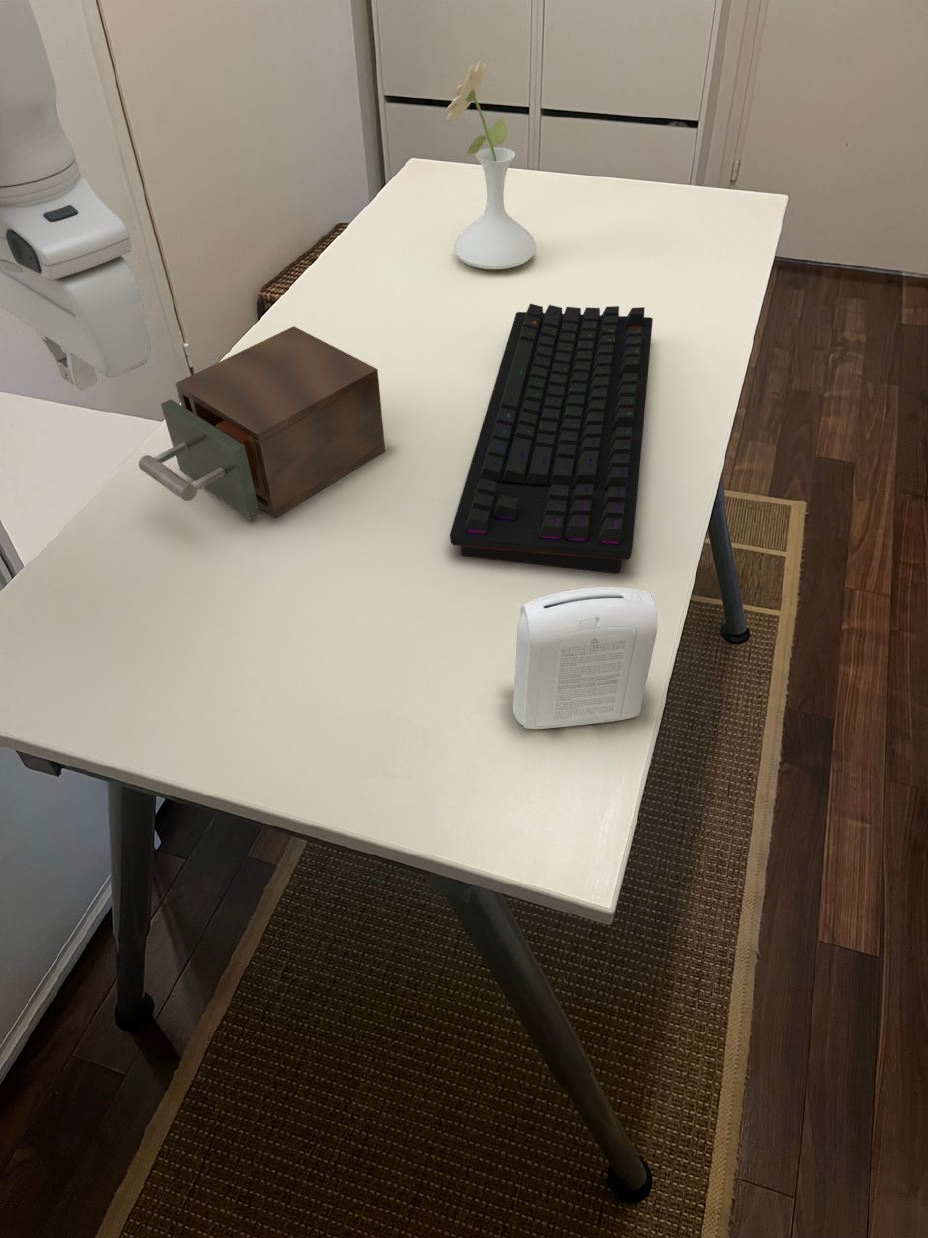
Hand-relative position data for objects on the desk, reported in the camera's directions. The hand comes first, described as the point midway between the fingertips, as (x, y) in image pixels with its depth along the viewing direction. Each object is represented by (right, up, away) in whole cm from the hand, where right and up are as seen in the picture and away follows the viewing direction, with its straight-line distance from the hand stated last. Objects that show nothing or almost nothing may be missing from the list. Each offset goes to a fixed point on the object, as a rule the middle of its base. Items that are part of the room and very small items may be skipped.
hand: (79, 380), depth 75 cm
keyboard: (+42, 0, +24) cm, 48 cm away
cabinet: (+13, -2, +22) cm, 26 cm away
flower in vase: (+35, +30, +53) cm, 71 cm away
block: (+10, -3, +18) cm, 21 cm away
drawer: (+9, -5, +19) cm, 21 cm away
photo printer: (+40, -26, -1) cm, 48 cm away
